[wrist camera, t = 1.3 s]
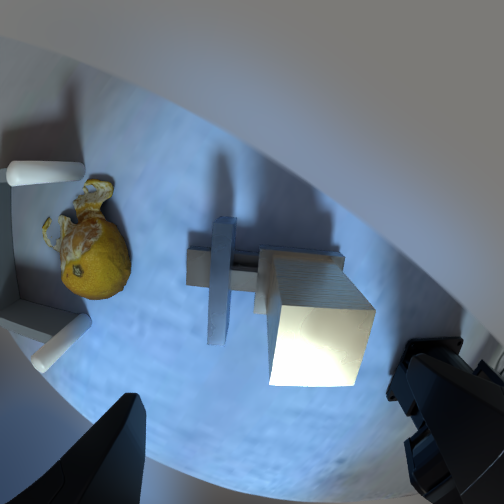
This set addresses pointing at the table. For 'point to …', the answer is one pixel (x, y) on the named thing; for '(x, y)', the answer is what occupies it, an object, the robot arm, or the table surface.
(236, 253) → the rail
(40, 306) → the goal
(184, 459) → the table surface
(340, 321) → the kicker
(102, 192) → the fruit
